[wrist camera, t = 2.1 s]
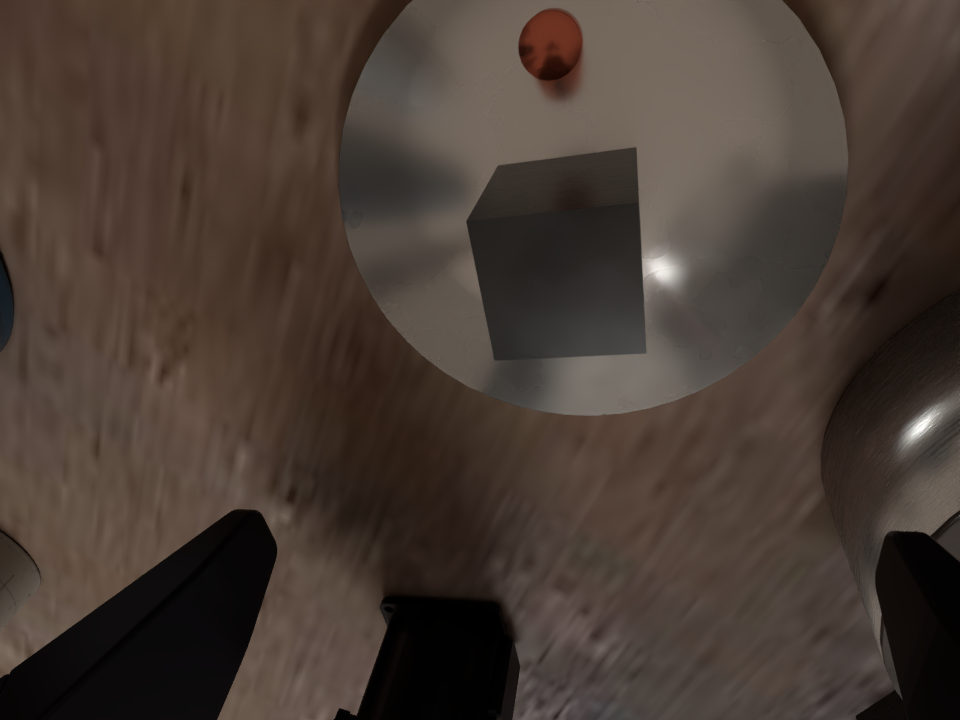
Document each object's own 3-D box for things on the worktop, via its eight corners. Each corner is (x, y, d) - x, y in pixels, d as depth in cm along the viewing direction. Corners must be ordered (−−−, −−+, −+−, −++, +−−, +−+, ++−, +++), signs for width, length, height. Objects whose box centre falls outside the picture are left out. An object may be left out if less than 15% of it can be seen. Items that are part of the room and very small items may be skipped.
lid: (412, 401, 26) (364, 502, 21) (289, -12, 18) (172, 5, 13) (810, 388, 22) (859, 509, 17) (872, -145, 14) (991, -186, 10)
